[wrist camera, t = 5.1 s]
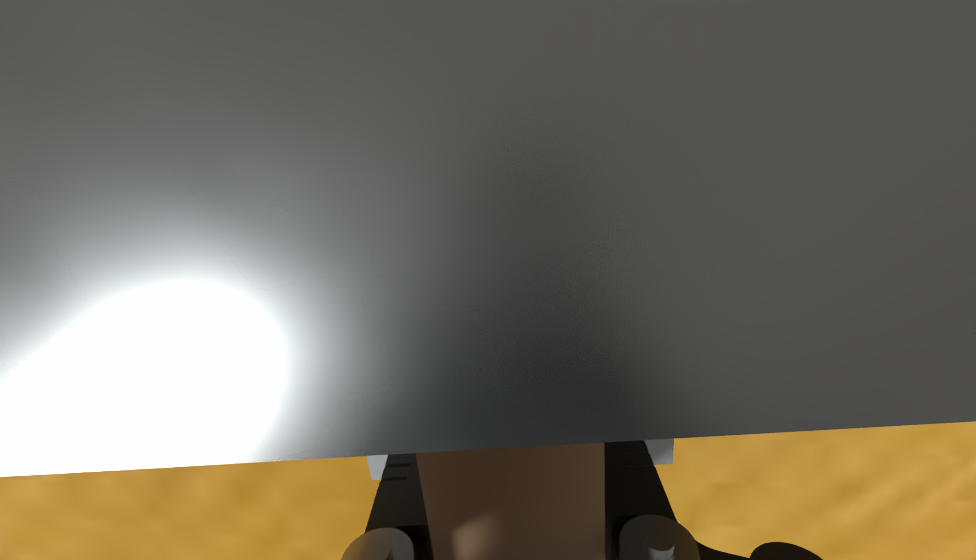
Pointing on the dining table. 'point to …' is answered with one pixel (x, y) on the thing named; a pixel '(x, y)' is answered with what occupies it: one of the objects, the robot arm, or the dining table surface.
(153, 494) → the dining table surface
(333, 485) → the dining table surface
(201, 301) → the bearing block
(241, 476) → the dining table surface
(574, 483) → the shaft
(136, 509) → the dining table surface
